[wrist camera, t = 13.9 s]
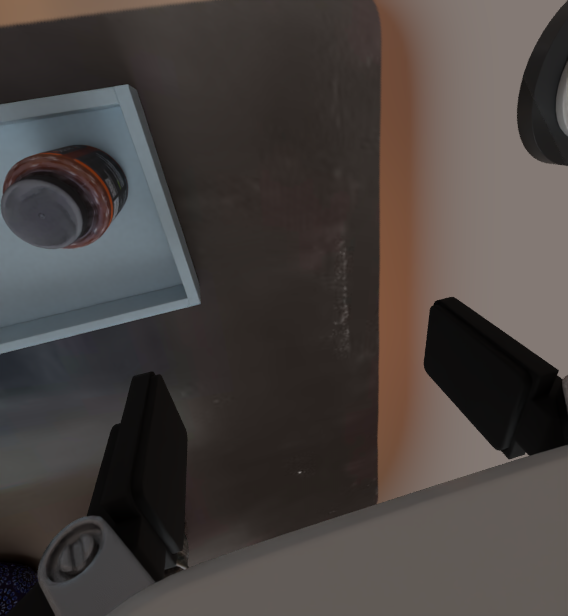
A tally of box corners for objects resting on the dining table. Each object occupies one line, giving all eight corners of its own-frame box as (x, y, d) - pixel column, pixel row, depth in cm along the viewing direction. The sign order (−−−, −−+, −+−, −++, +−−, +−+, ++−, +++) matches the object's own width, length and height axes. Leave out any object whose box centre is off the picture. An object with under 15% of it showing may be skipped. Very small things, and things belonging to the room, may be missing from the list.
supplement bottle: (35, 182, 27) (-51, 215, 17) (79, 126, 26) (13, 130, 16) (103, 231, 30) (61, 283, 20) (144, 183, 29) (121, 214, 19)
